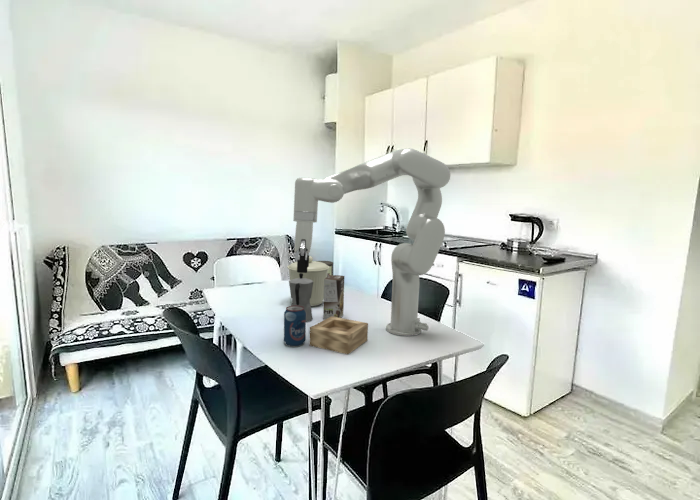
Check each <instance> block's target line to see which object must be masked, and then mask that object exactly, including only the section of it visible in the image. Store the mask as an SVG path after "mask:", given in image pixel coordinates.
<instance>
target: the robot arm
mask: <svg viewBox="0 0 700 500" xmlns="http://www.w3.org/2000/svg"><path fill="white" fill-rule="evenodd" d="M401 176H410V177H411V178H412V181H413V184H414V185H415V187H416V190H417V201H416V204H415V206H414V209H413V211H412V212H411V216H410V218H409V220H408V223H407V226H406V229H405V233H406V236H407V237H408V238H409V240H411V241H414V242H413V243H408V242H403V243H399V244H397V245H396V246H395V247H394V248H393V250H392V253H391V260H390V261H391V270H392V284H391V289H392V290H391V303H390V304H391V305H390V307H391V308H390V310H391V312H390V323H387V324H386V326H385V330H386V331H387V332H388V333H390V334H393V335H396V336H404V337H408V336H409V337H410V336H413V337H414V336H417V335H419V334H420V333H421V332H422V331H427V332H428V331H429V329H430V328H429V325H428V324H427V323H425V322H421V319H420V318H419V317H418V313H419V297H420V296H419V295H420V276H423V275H425V274H427V273H428V272H429V271H430V270H431V269H432V266H434V262H435V260H436V258H437V256H438V254H439V252H440V249H441V246H442V245H443V242H444V239H445V235H446V234H445V233H446V229H445V224H444V223H443V222H442V220H441V219H439V218H438V216H439V213H440V210H441V208H442V204H443V195H442V191H441V189H442V188H443V187H445V186H447V184H448V183H449V182H450V180H451V171H450V168H449V167H448V166H447V164H445V163H444V162H442V161H440V160H438V159H437V158H434V157H432V156H430V155H427V154H426V153H424V152H422V151H419V150H416V149H414V148H411V147H409V148H407V147H406V148H401V149H397V150H394V151H393V150H392V151H390V152H389V153H385V154H383V155H381V156H378V157H376V158H372V159H371V160H368V161H365V162H363V163H360V164H357V165H356V166H353V167H350V168H348V169H346V170H343V171H340V172H338V173H335V174H332V175H330V176H327V177H325V178H322V179H316V178H312V177H311V178H310V177H298V178H296V179H295V182H294V196H293V197H294V198H293V199H294V200H293V222H296V224H295V237H294V253H296V254H297V252H298V255H297V261H296V262H297V272H298V273H307V267H309V256H310V254H309V253H310V252H311V250H312V249H311V248H312V242H313V231H314V223H317V222H318V206H319V201H320V202H324V203H331V204H333V203H337V202H339V201H340V200H342V198H343V197H344V195H345V194H348V193H351V192H356V191H361V190H366V189H371V188H374V187H377V186H379V185H383V184H384V183H386V182H388V181H391V180H394V179H396V178H399V177H401Z"/></svg>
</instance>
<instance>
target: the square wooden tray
mask: <svg viewBox="0 0 700 500" xmlns="http://www.w3.org/2000/svg"><path fill="white" fill-rule="evenodd" d="M368 331H369V323H368V322H365V321H358V320H352V319H349V318H343V317H341V318H338V317H333V316H331V317H329V318H327V319H325V320H323V319H322V321H320V322H318V323H316V324H314V325H312V326H310V327H309V346H310V347H313V346H314V348H319V349H323V350H326V351H332V352H335V353H340V354H343V355H349V354H351V353H352V352H353V351H355V350H356V349H358V348H359V347H361V346H363V344H365V343H366V342H368V340H369V339H368V334H369V332H368Z"/></svg>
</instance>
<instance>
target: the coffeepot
mask: <svg viewBox="0 0 700 500" xmlns="http://www.w3.org/2000/svg"><path fill="white" fill-rule="evenodd" d="M299 277H300V278H297V279H292V280H290V279H289V280H288V284H289V292H290V297H291V304H290V306H293V305H298V306H303V307H304V310H305V312H306V323H310V322H312V320H313V319H314V318H313V313H312V306H311V305H310V298H311V294H312V288H313V281H312V280H310V279H306V278H303V274H302V273H300V274H299Z"/></svg>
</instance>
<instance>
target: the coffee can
mask: <svg viewBox="0 0 700 500" xmlns="http://www.w3.org/2000/svg"><path fill="white" fill-rule="evenodd" d="M316 261H317V262H322V263H325V264H326V265H328V266H329V269H328V273H327V277H328V276H329V275H334V261H330V260H316Z"/></svg>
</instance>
